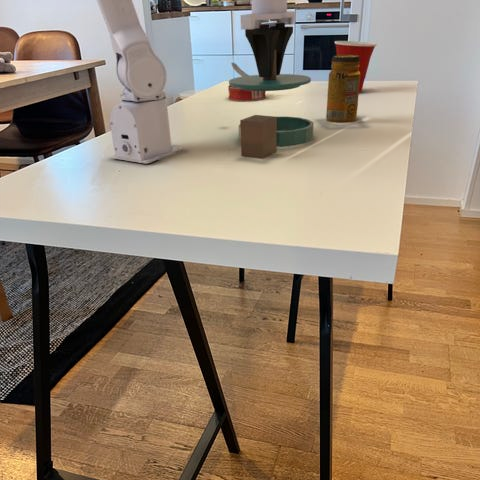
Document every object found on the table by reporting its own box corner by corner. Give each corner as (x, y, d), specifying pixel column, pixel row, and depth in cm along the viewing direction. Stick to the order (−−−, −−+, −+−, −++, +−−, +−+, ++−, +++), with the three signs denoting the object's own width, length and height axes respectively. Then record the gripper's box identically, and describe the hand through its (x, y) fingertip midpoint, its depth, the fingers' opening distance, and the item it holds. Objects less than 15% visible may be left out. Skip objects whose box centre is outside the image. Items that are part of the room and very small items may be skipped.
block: (262, 162, 76) (262, 122, 72) (241, 159, 77) (240, 120, 74) (276, 155, 79) (276, 116, 75) (255, 152, 81) (255, 114, 77)
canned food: (242, 113, 134) (251, 75, 132) (269, 112, 127) (278, 73, 126) (214, 97, 126) (222, 57, 124) (241, 96, 119) (250, 54, 118)
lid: (286, 94, 76) (287, 54, 72) (213, 90, 82) (210, 53, 79) (323, 82, 85) (325, 46, 82) (255, 79, 92) (255, 45, 89)
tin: (291, 153, 79) (291, 135, 78) (225, 145, 86) (224, 128, 84) (324, 136, 88) (325, 119, 87) (263, 130, 95) (263, 114, 93)
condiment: (354, 118, 101) (359, 53, 94) (364, 127, 94) (371, 57, 87) (319, 120, 101) (322, 55, 94) (326, 128, 94) (331, 59, 87)
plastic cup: (376, 94, 125) (381, 41, 118) (334, 95, 125) (337, 43, 118) (367, 88, 134) (372, 38, 127) (328, 89, 134) (331, 40, 128)
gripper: (268, -23, 68) (268, 82, 76) (312, -22, 79) (308, 71, 86) (227, -20, 72) (231, 81, 79) (274, -19, 82) (274, 70, 89)
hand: (269, 76), depth 83 cm, fingers closed on lid, 2 cm apart
